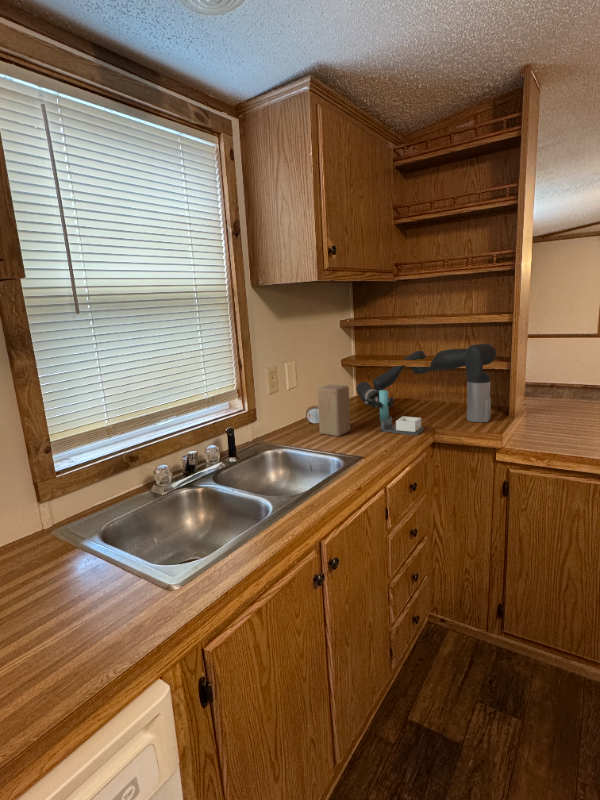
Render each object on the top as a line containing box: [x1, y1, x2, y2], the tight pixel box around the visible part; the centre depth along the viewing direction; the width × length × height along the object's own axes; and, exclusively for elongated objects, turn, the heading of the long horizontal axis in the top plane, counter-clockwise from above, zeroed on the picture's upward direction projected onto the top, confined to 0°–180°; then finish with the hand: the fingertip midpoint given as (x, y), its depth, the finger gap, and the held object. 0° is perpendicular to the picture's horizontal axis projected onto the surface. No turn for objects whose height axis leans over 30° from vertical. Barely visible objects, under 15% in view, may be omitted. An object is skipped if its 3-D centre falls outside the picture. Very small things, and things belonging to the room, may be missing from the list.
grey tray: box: [380, 416, 425, 436], centre depth 188 cm, size 16×9×4 cm, turn 58°
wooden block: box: [317, 384, 351, 437], centre depth 190 cm, size 10×10×20 cm
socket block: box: [395, 415, 422, 432], centre depth 187 cm, size 8×8×4 cm
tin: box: [305, 405, 319, 425], centre depth 208 cm, size 15×3×8 cm, turn 84°
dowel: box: [379, 389, 390, 423], centre depth 202 cm, size 4×4×14 cm
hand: (385, 405), depth 199 cm, fingers closed on dowel, 4 cm apart
